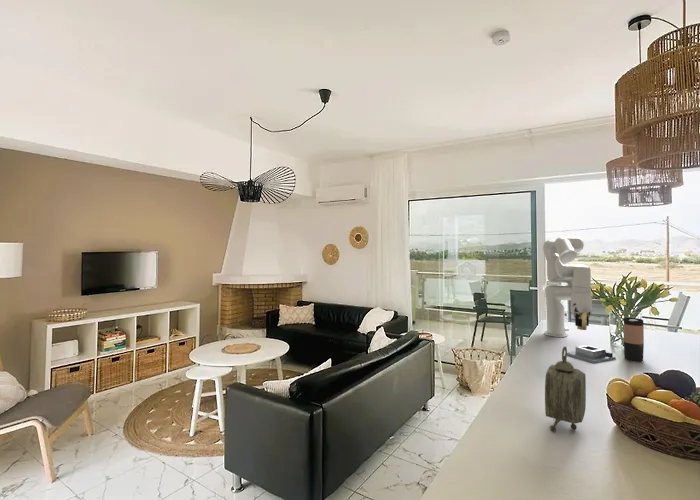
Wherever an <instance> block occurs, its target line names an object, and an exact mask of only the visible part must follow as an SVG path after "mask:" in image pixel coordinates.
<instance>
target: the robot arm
mask: <svg viewBox="0 0 700 500" xmlns="http://www.w3.org/2000/svg"><path fill="white" fill-rule="evenodd" d="M584 246H585V243H584V241H583V239H582V238H581V237H580V236H560V237H557V238H556V239H548V240H546V241H544V243H543V244H542V250H543V253H544V257H545V259H546V277H547V281H548V282H549V283H550V282H551V283H554V284H550V285H547V286H545V289H544V294H545V299H546V301H545V302H546V330H544V332H543V334H544V335H545V336H548V337H549V336H550V337H553V338H554V337H555V338H566V337H568V333H566V332H569V331H570V329H569V328H568V327H565V306H564V304H563V303H562V302H561V301H570V313H571V314H572V315H573V318H574V321H575V323H574V325H575V326H576V327H577V326H579V327H582V319H581V315H582V313H584V312H587V327H589V325H590V323H589V322H590V321H589V319H590V317H591V314H592V313H593V298H592V297H593V296H592V290H591V286H592V285H591V284H592V283H591V282H592V281H591V277H592V276H591V267H590V266H588V265H585V264H569V263H571V262H573V261H575V260H576V259H577V256H578V253H579V252H581V251H583V249H584ZM555 283H559V284H555ZM560 283H563V284H560ZM565 283H566V284H565ZM577 311H578V312H577ZM577 313H579V315H578V314H577Z"/></svg>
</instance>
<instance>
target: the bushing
mask: <svg viewBox="0 0 700 500" xmlns="http://www.w3.org/2000/svg"><path fill="white" fill-rule="evenodd" d="M577 312H578V311H577ZM577 314H578V315H579V313H577ZM581 319H582V327H579V326H576V329H577V330H581V331H587V329H588V326H587V312H584V313H582V315H581Z"/></svg>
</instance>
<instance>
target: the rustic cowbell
mask: <svg viewBox="0 0 700 500" xmlns="http://www.w3.org/2000/svg"><path fill="white" fill-rule="evenodd" d="M567 353H568V349H567V346H563V348H562V351H561V360H559V361H557V362H556V363H555V364H551V365H550V366H549V367H548V368H547V370H546V373H545V380H544V410H545V411H544V412H545V414H544V415H545V417H548V418H551V419H553V420H554V419H555V421H554V423H553V425H550V426H549V430H550V431H551V432H556V431H557V428H556V426H557V425H558V423H560V422H561V421H562V422H565V423H570V429H572V430H574V431H575V430H576V429H578V428H577V427H578V426H577V424H579V423H582V422H583V421H584V417H585V414H586V409H587V408H586V403H587V401H586V400H587V399H586V398H587V397H586V396H587V395H586V394H587V393H586V392H587V383H586V382H587V381H586V380H587V379H586V373H584V372H583V371H581V370H580V369H578V368H574V366H573V365H572V363H571V362H569V361H568V360H567V357H568V356H567Z"/></svg>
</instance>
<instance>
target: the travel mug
mask: <svg viewBox="0 0 700 500" xmlns="http://www.w3.org/2000/svg"><path fill="white" fill-rule="evenodd" d="M644 331H645V330H644V319H642V318H637V317H624V318H623V354H624V360H626V361H628V360H629V362H633V361H634V363H642V361H643V362H644V351H645V348H644V347H645V346H644V345H645V339H644V338H645V337H644V335H645V332H644Z"/></svg>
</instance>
